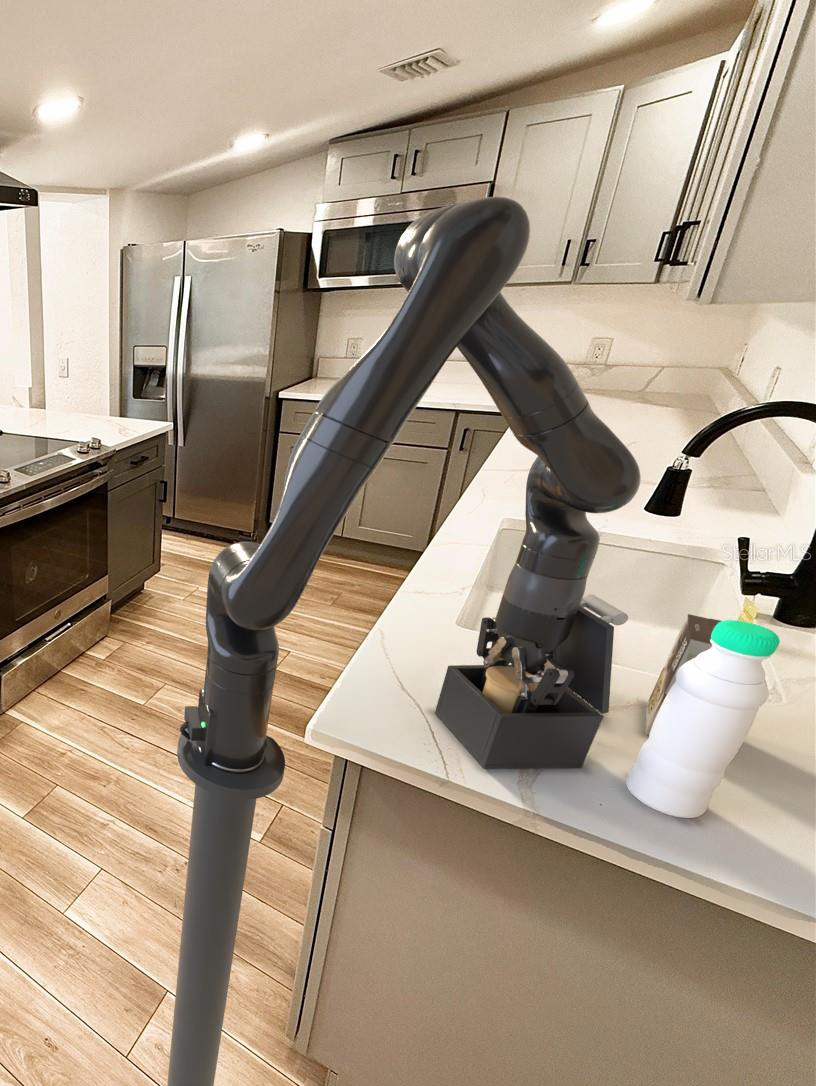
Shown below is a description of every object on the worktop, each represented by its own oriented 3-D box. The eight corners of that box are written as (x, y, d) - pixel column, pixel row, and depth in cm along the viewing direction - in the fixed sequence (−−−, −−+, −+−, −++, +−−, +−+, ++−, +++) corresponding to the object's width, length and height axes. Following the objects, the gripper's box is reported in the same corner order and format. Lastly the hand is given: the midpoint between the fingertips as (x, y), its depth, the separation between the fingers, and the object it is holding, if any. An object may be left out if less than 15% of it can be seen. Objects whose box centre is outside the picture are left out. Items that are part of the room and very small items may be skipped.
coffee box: (709, 755, 83) (762, 656, 76) (643, 734, 87) (689, 638, 80) (706, 721, 89) (756, 626, 82) (644, 703, 93) (687, 611, 86)
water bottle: (700, 795, 77) (793, 624, 67) (705, 831, 72) (806, 653, 62) (623, 769, 81) (700, 606, 71) (624, 801, 77) (705, 631, 66)
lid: (607, 628, 73) (653, 617, 72) (536, 584, 84) (576, 574, 83) (601, 714, 78) (645, 705, 77) (535, 662, 89) (573, 653, 88)
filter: (494, 723, 83) (505, 692, 81) (467, 696, 88) (476, 665, 86) (541, 723, 83) (553, 691, 80) (510, 695, 88) (520, 665, 86)
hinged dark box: (483, 768, 83) (501, 717, 79) (434, 713, 93) (448, 665, 90) (581, 768, 82) (604, 716, 78) (520, 712, 92) (537, 664, 89)
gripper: (474, 574, 85) (445, 674, 92) (551, 628, 72) (511, 740, 79) (530, 573, 85) (497, 673, 92) (619, 627, 72) (572, 740, 78)
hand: (504, 704), depth 85 cm, fingers closed on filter, 5 cm apart
